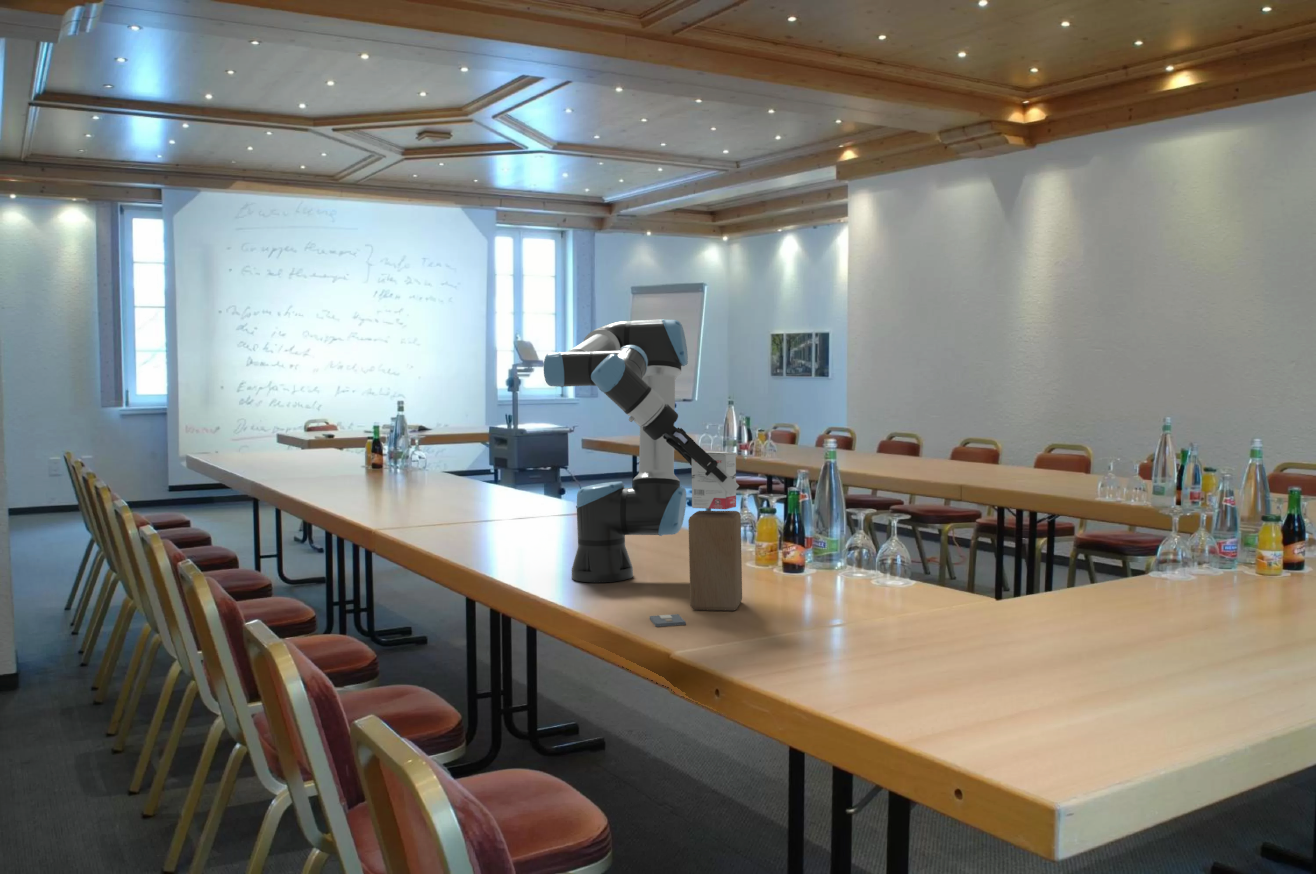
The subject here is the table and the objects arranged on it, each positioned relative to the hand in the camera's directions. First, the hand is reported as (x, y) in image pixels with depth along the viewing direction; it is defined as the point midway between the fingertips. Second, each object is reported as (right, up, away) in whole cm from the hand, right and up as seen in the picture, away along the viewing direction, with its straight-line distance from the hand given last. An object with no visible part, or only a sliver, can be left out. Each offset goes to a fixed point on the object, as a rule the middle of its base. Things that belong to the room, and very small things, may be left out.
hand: (728, 487), depth 225 cm
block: (-3, -26, +1) cm, 26 cm away
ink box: (-3, -4, 0) cm, 5 cm away
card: (-13, -26, -12) cm, 32 cm away
